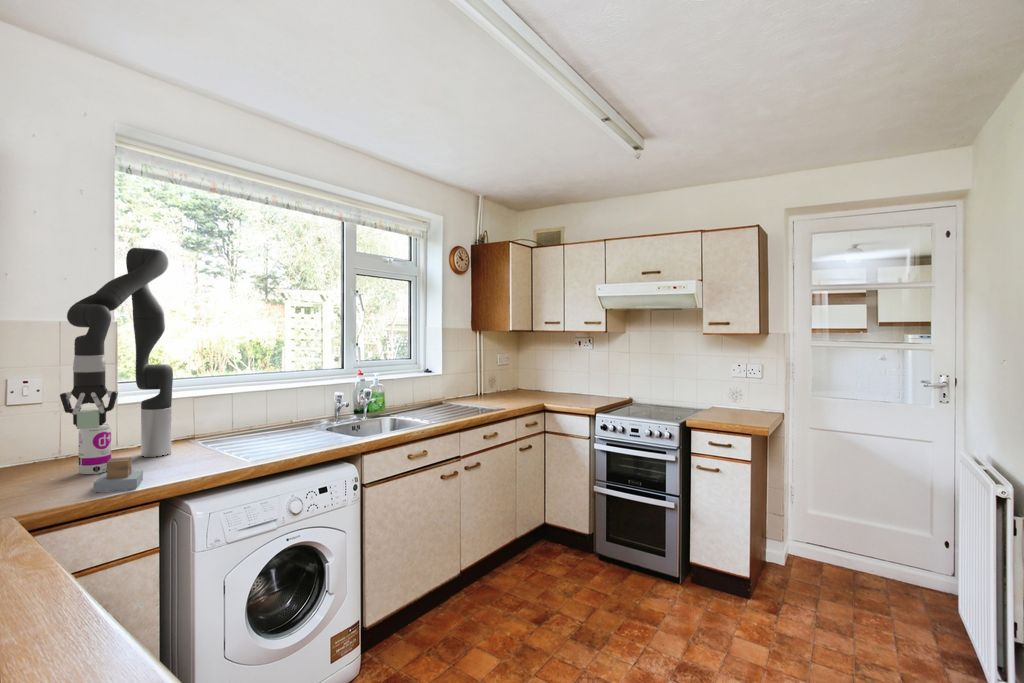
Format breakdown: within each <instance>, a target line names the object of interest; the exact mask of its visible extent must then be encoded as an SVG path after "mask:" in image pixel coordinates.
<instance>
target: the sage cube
mask: <svg viewBox="0 0 1024 683" xmlns="http://www.w3.org/2000/svg"><path fill="white" fill-rule="evenodd" d="M99 414H100V411H99V409H98V408H97V409H81V410H80V411H79V412H77V427H76V430H80V429H91V428H99V427H100V426H102V425H99Z"/></svg>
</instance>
